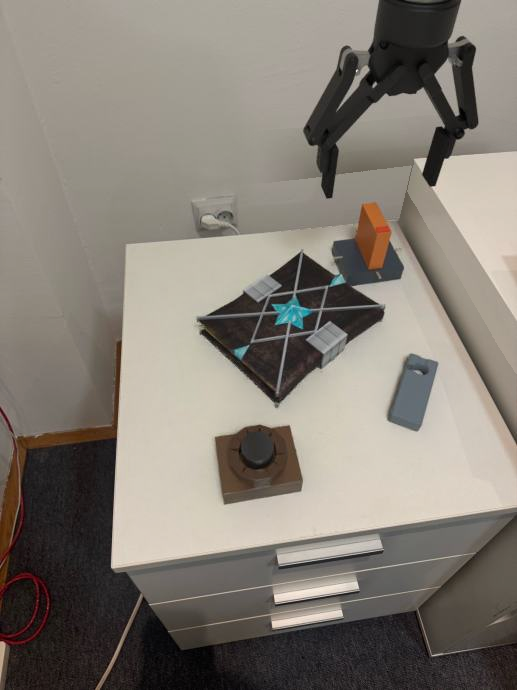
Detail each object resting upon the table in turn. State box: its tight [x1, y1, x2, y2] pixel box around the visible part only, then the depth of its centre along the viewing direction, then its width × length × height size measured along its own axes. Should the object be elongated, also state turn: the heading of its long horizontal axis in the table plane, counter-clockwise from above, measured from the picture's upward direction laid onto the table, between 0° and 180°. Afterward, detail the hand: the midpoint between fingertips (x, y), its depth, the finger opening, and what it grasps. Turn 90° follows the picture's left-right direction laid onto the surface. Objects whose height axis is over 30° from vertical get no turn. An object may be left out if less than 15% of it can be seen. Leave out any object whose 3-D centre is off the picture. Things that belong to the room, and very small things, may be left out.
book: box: [195, 248, 386, 409], centre depth 69 cm, size 22×17×5 cm
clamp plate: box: [331, 229, 405, 287], centre depth 78 cm, size 11×11×3 cm
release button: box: [241, 431, 274, 468], centre depth 53 cm, size 4×4×2 cm
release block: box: [214, 424, 304, 505], centre depth 56 cm, size 9×7×5 cm
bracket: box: [387, 352, 439, 432], centre depth 63 cm, size 4×10×2 cm, turn 156°
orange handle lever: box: [354, 201, 393, 270], centre depth 74 cm, size 7×2×7 cm, turn 10°
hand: (378, 186), depth 62 cm, fingers open, 13 cm apart
